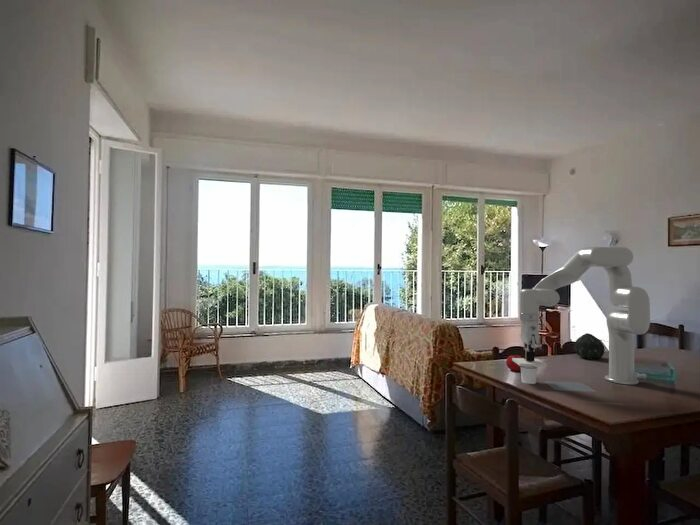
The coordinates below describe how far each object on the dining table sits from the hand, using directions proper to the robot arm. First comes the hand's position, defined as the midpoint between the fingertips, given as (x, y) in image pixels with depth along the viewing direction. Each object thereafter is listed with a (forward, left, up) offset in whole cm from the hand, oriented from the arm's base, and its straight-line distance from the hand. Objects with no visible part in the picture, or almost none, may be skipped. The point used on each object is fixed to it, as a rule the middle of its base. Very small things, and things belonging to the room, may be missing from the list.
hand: (529, 359), depth 180 cm
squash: (-52, -60, -10) cm, 80 cm away
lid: (0, 0, -2) cm, 2 cm away
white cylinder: (0, 0, -10) cm, 10 cm away
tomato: (-1, -23, -10) cm, 25 cm away
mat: (-15, +4, -10) cm, 18 cm away
